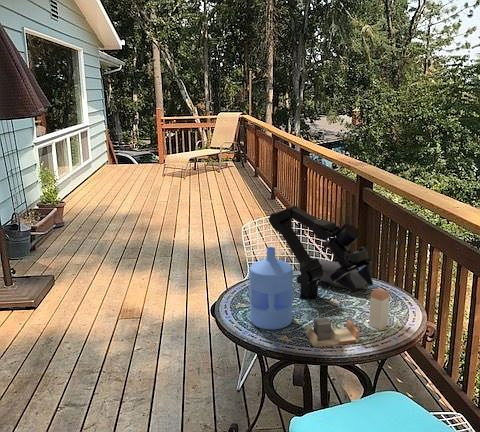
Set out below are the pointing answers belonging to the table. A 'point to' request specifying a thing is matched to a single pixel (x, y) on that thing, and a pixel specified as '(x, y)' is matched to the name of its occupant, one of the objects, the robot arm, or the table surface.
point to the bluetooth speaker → (355, 277)
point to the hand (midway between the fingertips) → (364, 288)
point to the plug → (379, 308)
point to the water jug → (271, 292)
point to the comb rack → (331, 333)
